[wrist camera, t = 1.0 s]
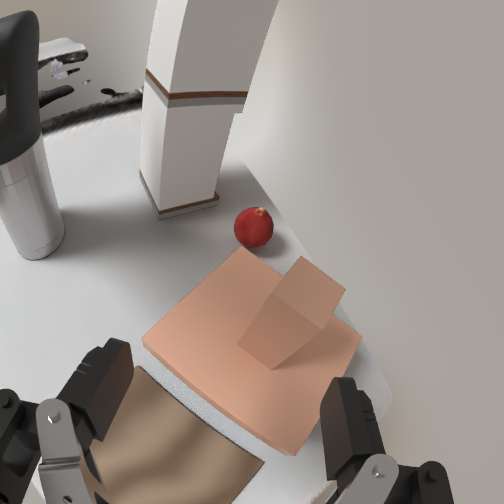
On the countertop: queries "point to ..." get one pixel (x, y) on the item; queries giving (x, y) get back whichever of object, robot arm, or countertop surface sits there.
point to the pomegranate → (253, 227)
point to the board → (167, 452)
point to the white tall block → (195, 95)
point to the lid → (259, 345)
